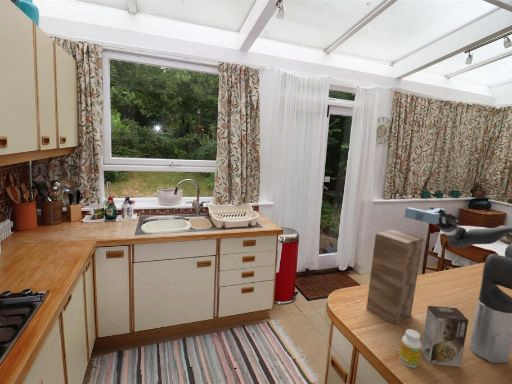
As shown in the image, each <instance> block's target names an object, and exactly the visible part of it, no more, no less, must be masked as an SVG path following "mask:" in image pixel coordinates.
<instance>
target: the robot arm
mask: <svg viewBox="0 0 512 384" xmlns="http://www.w3.org/2000/svg"><path fill="white" fill-rule="evenodd" d="M431 209H435V208H434V207H430V208H429V210H431ZM442 209H443V208H441V209H440V210H439V214H440V216H441V217H439V222H438V224H435V225H436V227H437V228H438V229H439V230H440V232H442V233H443V234H444V235H445V236H446V237H447V238H448V244H449V246H451V247H452V248H454V249H461V248H462V249H464V248H467V247H469V246H474V245H491V244H494V243H497V242H498V241H499V240H501V239H502V238H505V237H506V236H507V235H509V234H512V224H510V225H509V224H508V225H503V226H497V227H491V228H476V229H475V228H473V229H469V230H466V228H464V227H461V226H459V223H460V218H458V217H456V216H455V215H453V214H452V213H447V211H446V212H444V211H443V210H442ZM482 268H483V269H482V275H481V276H482V279H481V284H480V291H479V296H478V300H477V307H476V311H475V315H474V321H473V325H472V330H471V335H470V341H469V348H470V350H471V352H473V353H474V354H475V355H477V356H478V357H480V358H481V359H484V360H486V361H488V363H489V364H502V363H503V364H506V363H509V359H510V355H511V351H512V296H510V295H509V294H507V293H506V292H505V291H503V290H502V289H501V288H500V287H503V288H506V289H508V290H512V242H511V243H509V245H508V246H507V247H506V248H505V250H504V255H501V254H500V255H499V254H496V253H491V254H488V256H487V257H486V258H485V261H484V264H483V267H482Z"/></svg>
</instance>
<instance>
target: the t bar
mask: <svg viewBox="0 0 512 384" xmlns="http://www.w3.org/2000/svg"><path fill="white" fill-rule="evenodd" d="M440 209H442V210H443V211H444V212H446V213H447V209H445V208H441V207H436V208H434V209H431V210H430V209H427V210H424V209H418V208H415V207H414V208H413V207H410V206H409V207H405V210H404V211H405V212H404V218H407V219H411V220H413V221H414V220H415V221H419V222H423V223H428V224H431V225H436V224H438V222H439V217H441V216H440V214H439V210H440Z"/></svg>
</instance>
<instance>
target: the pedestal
mask: <svg viewBox="0 0 512 384" xmlns="http://www.w3.org/2000/svg"><path fill="white" fill-rule="evenodd" d="M423 241H424V238H423V237H420V236H417V235H414V234H410V233H406V232H404V231H400V230H396V229H389V230H385V231H381V232H377V233H375V237H374V246H373V253H372V254H373V255H372V259H371V260H372V263H371V270H370V278H369V286H368V293H367V301H366V302H367V303H366V310H368V311H370V312H371V313H373V314H375V315H377V316H378V317H380V318H382V319H383V320H386V322H389V323H391V324H393V325H397V324H399V323H400V322H402V321H403V320H405V319H406V318H409V317H410V316H412V312H413V306H414V298H415V293H416V287H417V286H416V285H417V281H418V280H417V279H418V273H419V269H420V268H419V267H420V260H421V253H422V247H423Z"/></svg>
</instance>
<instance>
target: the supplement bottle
mask: <svg viewBox="0 0 512 384" xmlns="http://www.w3.org/2000/svg"><path fill="white" fill-rule="evenodd" d="M421 347H422V340H421V333H420V332H418V331H417V330H415V329H411V328H408V329H406V330H405V333H404V335H403V336H402V337H401V343H400V350H399V355H398V358H399V361H400V362H401V363H403V364H404V365H405V366H407V367H410V368H417V367H419V364H420V358H421V353H422V351H421Z"/></svg>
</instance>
